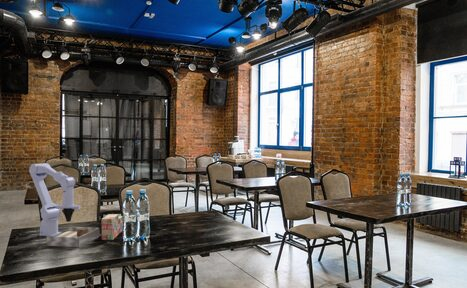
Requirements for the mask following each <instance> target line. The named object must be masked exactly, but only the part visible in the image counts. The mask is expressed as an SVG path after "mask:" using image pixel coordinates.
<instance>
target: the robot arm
mask: <svg viewBox="0 0 467 288" xmlns="http://www.w3.org/2000/svg"><path fill="white" fill-rule="evenodd" d="M28 172H29V175H30V177H31V179H32V181H33V184H34V186H35V189H36V192H37V194H38V197H39V199H40V202H41V204H42V207H41V208H40V210H39V211H40V216H41V217H40V218H41V219H42V220H41V221H40V222H39V237H41V236H43V237H47V236H58V235H60V234H62V231H59V220H60V217H61V216H62V214H63V215H64V217H65V221H66V222H67V223H68V222H71V220H72V216H73V214H74V212H75V210H81V208H82V206H81V205H76V204H74V203H75V202H74V198H75V197H74V193H75V191H74V187H75V186H76V183H77V182H76V181H77V180H76V179H75V177H73V176H69V175H67V174H65V173H63V171H57V170H55V169H54V168H52V167H51V165H50V164H49V163H47V162H44V163H32V164H30V166H29V170H28ZM47 175H49V176H51V177H52V178H53V180H54V181H55V182H57V183H59V184H60V187H61V191H62V204H56V203H54V202H53V200H52V197H51V195H50V193H49V190H48V188H47V186H46V183H45V181H44V179H45V178H47Z"/></svg>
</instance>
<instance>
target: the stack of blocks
mask: <svg viewBox="0 0 467 288" xmlns="http://www.w3.org/2000/svg"><path fill="white" fill-rule="evenodd" d="M123 231H124V217H123V215H119V214H118V213H117V214H115V213H110V214H109V213H108V214H107V215H105V216H104V217H102V218H101V240H102V241H112V240H114V239H115V238H117V236H118V235H119V234H121V233H122V232H123Z"/></svg>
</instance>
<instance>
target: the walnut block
mask: <svg viewBox="0 0 467 288" xmlns="http://www.w3.org/2000/svg"><path fill="white" fill-rule="evenodd" d="M88 228H89V227H87V228H79V229H77V237H80V236H82V235H84V234H86V233H88Z"/></svg>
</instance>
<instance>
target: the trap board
mask: <svg viewBox="0 0 467 288" xmlns="http://www.w3.org/2000/svg"><path fill="white" fill-rule="evenodd" d="M79 228H88V233H86V234H84V235H82V236H80V237H77V229H79ZM100 232H101V231H100V227H84V226H83V227H82V226H81V227H80V226H69V230H67V231H65V232H63V233H62V232H61V233H60V234H58V235H55V236H46V246H48V247H49V246H50V247H51V246H52V247H66V248H67V247H69V248H70V247H71V248H73V247H74V248H80V247H83V246H84V245H86V244H88V243H89V242H92V241H94V240H96V239H98V238H99V237H100V235H101V233H100Z"/></svg>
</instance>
